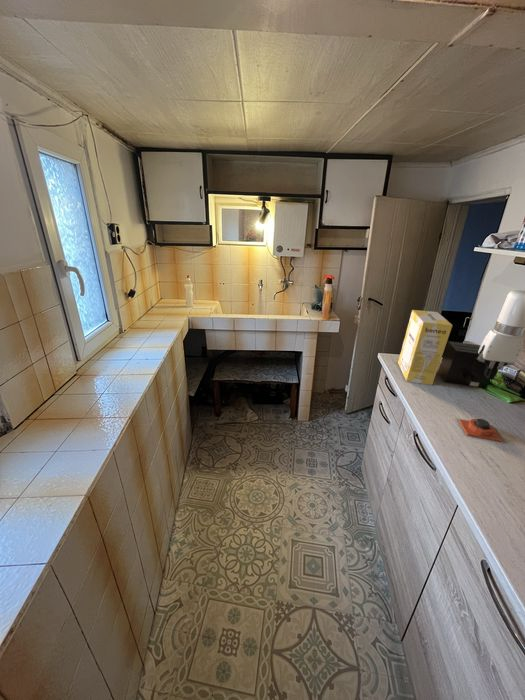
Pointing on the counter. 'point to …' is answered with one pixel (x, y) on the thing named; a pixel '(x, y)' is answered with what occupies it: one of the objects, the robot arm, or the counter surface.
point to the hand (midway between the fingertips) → (488, 377)
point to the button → (482, 424)
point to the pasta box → (423, 346)
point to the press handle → (471, 380)
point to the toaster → (462, 364)
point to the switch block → (479, 430)
